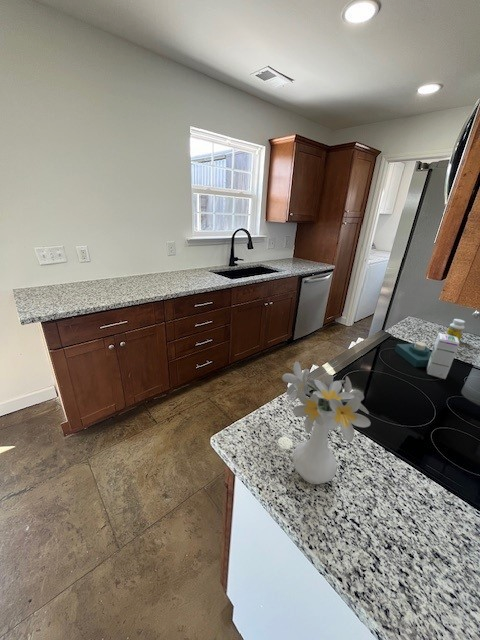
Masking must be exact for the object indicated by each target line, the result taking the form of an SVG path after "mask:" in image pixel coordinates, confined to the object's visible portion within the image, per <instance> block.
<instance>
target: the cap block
mask: <svg viewBox="0 0 480 640" xmlns="http://www.w3.org/2000/svg"><path fill="white" fill-rule="evenodd" d="M415 343H416V342H413V343H397V344H395V348H394V352H395V353H397V354H398V355H399V356H400V357H402V358H403V359H404V360H405V361H406V362H408V363H409V364H410V365H411V366H413V367H414V368H427V364H428V362H429V359H430V356H431V353H432V351H431V350H430V347H428V346H426V348H425V350H419V349H416V348H415V347H414V345H415Z"/></svg>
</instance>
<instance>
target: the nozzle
mask: <svg viewBox="0 0 480 640" xmlns="http://www.w3.org/2000/svg"><path fill="white" fill-rule="evenodd" d="M414 343H415V345H414V347H415V348H416V349H419V350H425V348H426V347H427V343H425V342H423V341H415V342H414Z"/></svg>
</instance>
